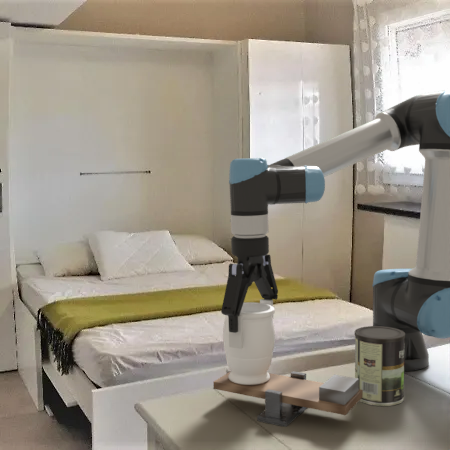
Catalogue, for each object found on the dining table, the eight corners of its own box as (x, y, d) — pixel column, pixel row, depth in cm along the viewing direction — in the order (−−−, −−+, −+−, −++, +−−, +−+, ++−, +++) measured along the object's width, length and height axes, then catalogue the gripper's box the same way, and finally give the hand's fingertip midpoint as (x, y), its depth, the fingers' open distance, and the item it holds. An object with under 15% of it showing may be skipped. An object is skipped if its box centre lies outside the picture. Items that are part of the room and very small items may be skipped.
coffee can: (402, 389, 141) (403, 326, 139) (405, 408, 131) (407, 340, 129) (354, 387, 143) (354, 324, 141) (353, 404, 133) (354, 337, 131)
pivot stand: (257, 420, 125) (257, 390, 125) (287, 396, 137) (287, 369, 137) (285, 426, 122) (285, 396, 122) (313, 401, 134) (313, 373, 134)
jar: (267, 368, 139) (266, 300, 138) (281, 385, 129) (281, 311, 128) (218, 372, 137) (218, 303, 136) (229, 389, 127) (228, 315, 126)
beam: (213, 388, 132) (213, 369, 132) (237, 374, 141) (237, 356, 140) (345, 415, 118) (345, 394, 118) (362, 397, 127) (362, 377, 126)
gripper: (260, 227, 143) (263, 321, 145) (201, 243, 121) (204, 353, 124) (292, 228, 139) (293, 325, 141) (236, 244, 117) (239, 358, 120)
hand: (252, 338), depth 132 cm, fingers open, 13 cm apart
